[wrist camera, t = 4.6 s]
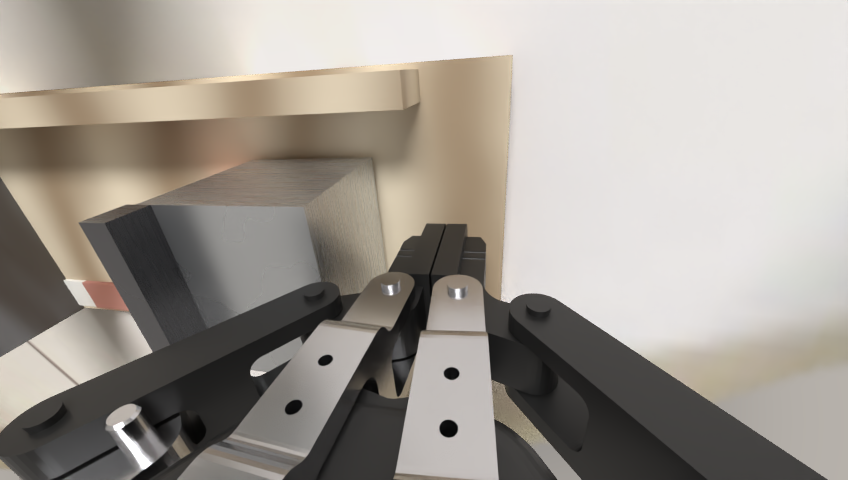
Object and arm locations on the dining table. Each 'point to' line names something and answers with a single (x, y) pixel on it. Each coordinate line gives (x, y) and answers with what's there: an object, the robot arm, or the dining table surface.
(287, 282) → the carriage
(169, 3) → the dining table surface
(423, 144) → the beige long open tray
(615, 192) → the dining table surface
